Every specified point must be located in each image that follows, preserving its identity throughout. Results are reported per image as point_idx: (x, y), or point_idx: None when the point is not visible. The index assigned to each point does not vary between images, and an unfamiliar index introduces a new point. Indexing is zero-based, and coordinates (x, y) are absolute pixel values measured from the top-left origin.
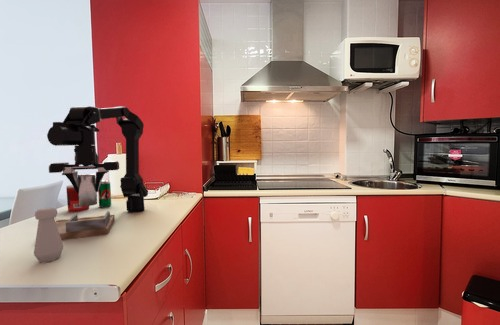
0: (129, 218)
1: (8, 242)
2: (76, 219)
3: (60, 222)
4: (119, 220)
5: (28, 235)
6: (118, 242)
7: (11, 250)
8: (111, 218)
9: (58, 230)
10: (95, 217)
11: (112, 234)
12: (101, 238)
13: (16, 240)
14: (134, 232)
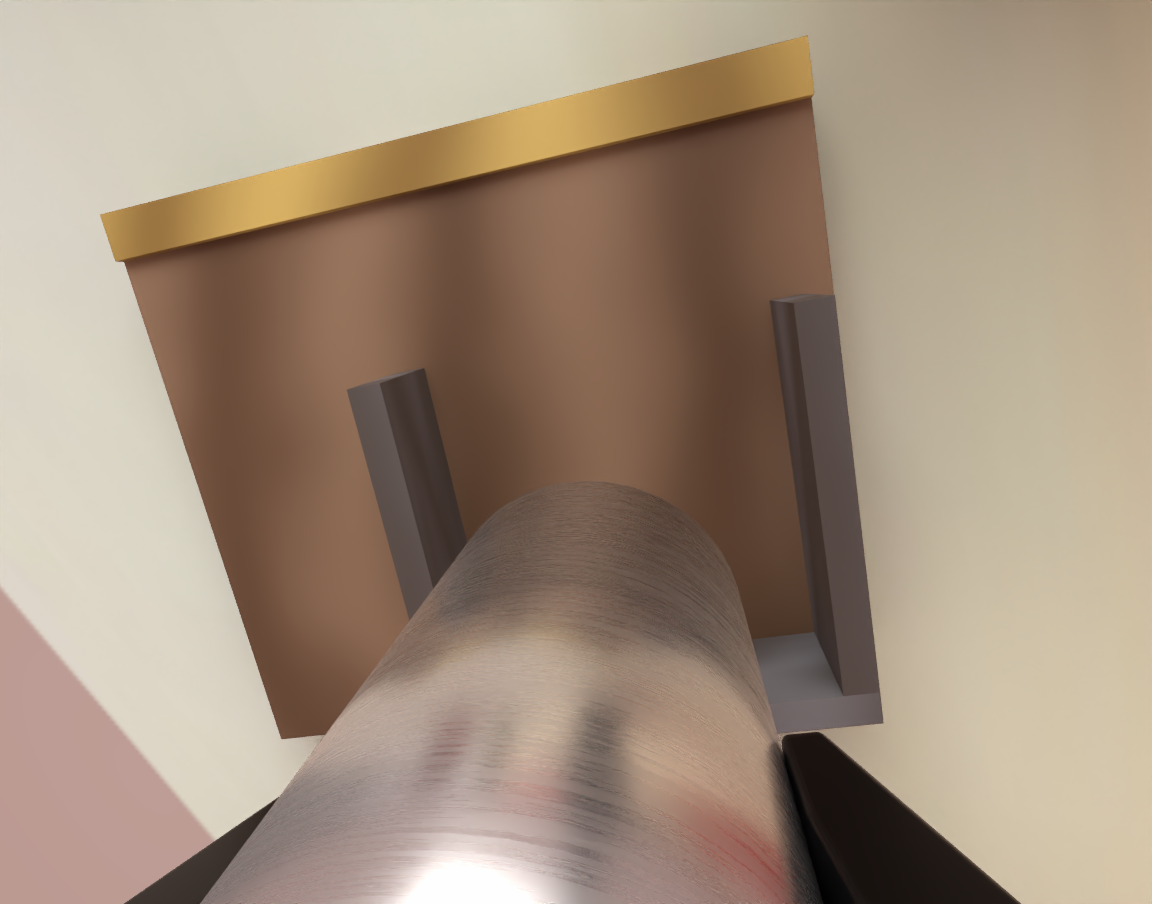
0: (1001, 2)
1: (57, 624)
2: (417, 431)
3: (201, 309)
4: (863, 95)
5: (82, 480)
6: (1013, 869)
7: (219, 799)
8: (811, 253)
9: (365, 617)
10: (553, 156)
11: (905, 653)
12: (823, 734)
13: (83, 592)
14: (1142, 651)
